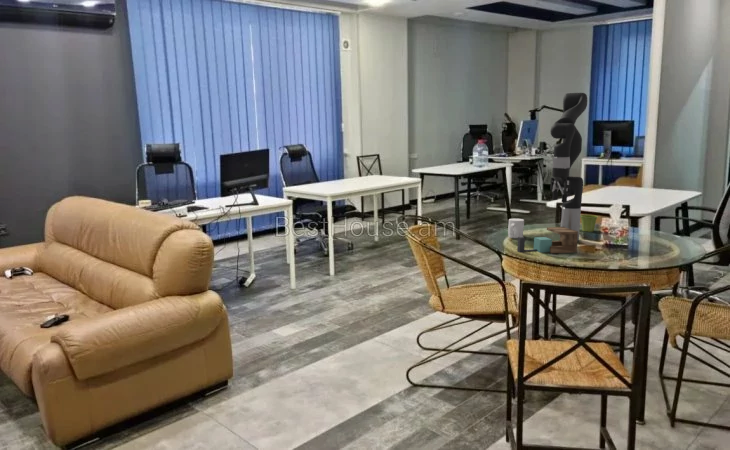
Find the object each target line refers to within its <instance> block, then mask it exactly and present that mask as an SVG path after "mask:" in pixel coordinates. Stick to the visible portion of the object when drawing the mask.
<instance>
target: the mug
mask: <svg viewBox="0 0 730 450" xmlns="http://www.w3.org/2000/svg"><path fill="white" fill-rule="evenodd" d="M507 227H508V228H507V237H508V238H511V239H518V237H524V227H525V219H523V218H509V219H508V225H507Z"/></svg>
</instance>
